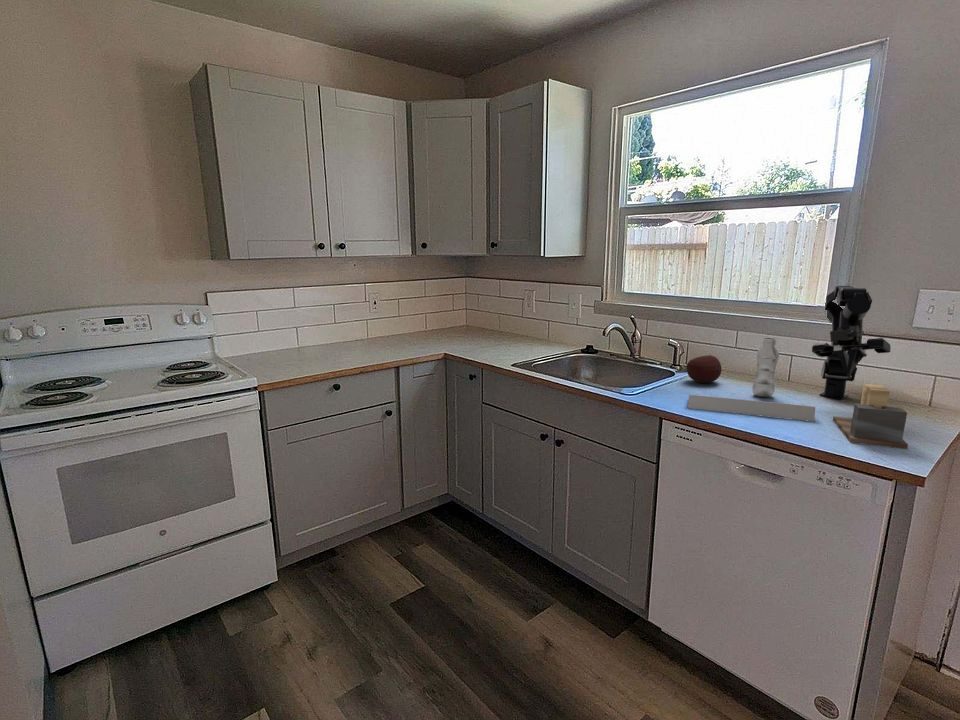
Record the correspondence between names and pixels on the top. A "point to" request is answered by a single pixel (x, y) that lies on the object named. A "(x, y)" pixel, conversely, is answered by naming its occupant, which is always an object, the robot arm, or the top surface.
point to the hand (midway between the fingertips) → (848, 374)
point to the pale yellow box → (875, 395)
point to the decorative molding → (752, 407)
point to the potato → (704, 369)
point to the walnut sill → (874, 426)
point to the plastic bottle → (766, 368)
